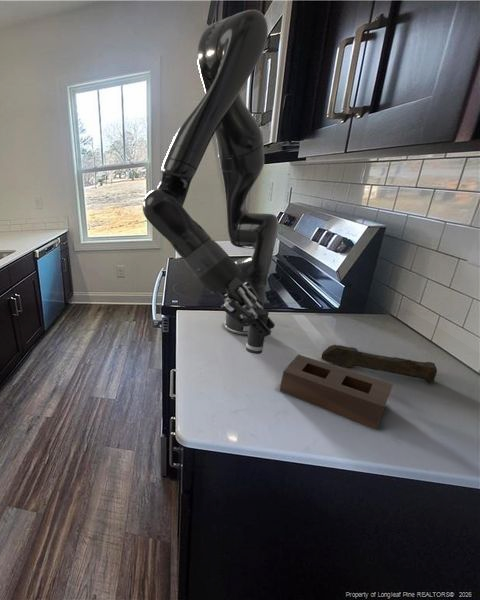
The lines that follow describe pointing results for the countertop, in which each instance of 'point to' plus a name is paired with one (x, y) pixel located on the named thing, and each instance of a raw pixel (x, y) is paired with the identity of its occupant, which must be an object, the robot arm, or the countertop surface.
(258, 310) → the dark grey cylinder
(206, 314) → the countertop surface
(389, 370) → the hand tool
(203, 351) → the countertop surface
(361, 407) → the holder
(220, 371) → the countertop surface
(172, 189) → the robot arm
